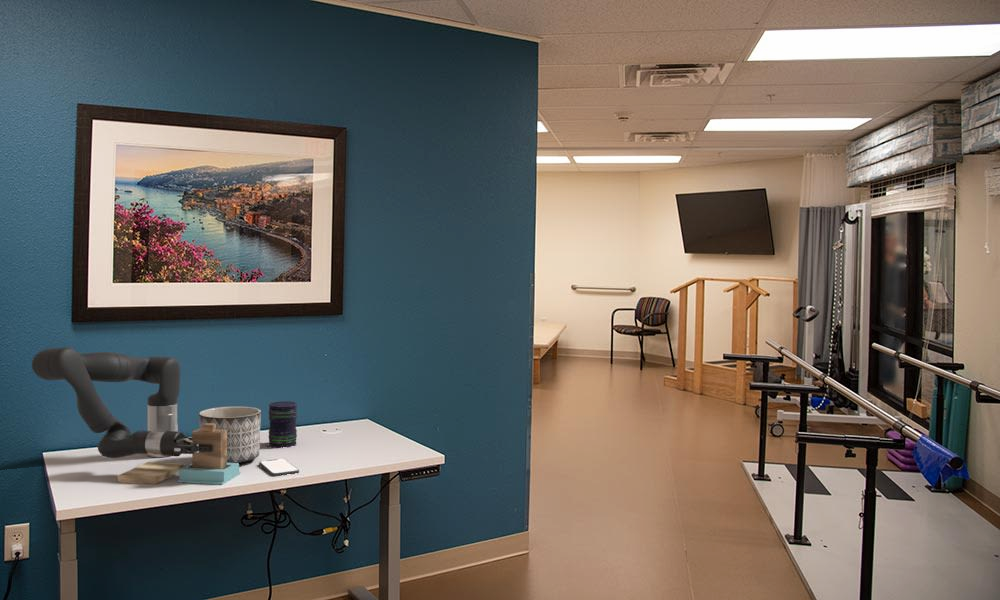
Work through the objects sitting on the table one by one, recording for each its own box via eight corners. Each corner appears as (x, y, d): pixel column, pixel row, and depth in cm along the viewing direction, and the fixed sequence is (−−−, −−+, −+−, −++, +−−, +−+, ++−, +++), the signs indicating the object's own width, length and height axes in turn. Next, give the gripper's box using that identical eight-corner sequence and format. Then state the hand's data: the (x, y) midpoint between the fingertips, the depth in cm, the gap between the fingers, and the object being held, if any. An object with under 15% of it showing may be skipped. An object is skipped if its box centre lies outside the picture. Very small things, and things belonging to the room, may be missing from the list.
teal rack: (197, 471, 241) (197, 460, 241) (240, 473, 240) (240, 462, 240) (177, 482, 229) (177, 470, 229) (222, 484, 228) (222, 472, 228)
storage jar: (280, 440, 285) (280, 400, 284) (302, 443, 281) (302, 402, 281) (262, 446, 276) (262, 404, 275) (285, 449, 272) (285, 407, 272)
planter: (187, 461, 253) (187, 412, 252) (238, 451, 268) (238, 404, 267) (220, 472, 241) (221, 420, 240) (272, 460, 256) (272, 411, 256)
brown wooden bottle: (198, 473, 237) (198, 422, 236) (226, 475, 236) (227, 423, 235) (192, 477, 233) (192, 424, 232) (220, 478, 232) (220, 426, 231)
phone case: (300, 475, 242) (284, 462, 255) (300, 470, 242) (284, 458, 255) (272, 479, 237) (257, 466, 251) (272, 474, 237) (257, 461, 250)
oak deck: (148, 468, 244) (148, 461, 244) (184, 469, 243) (184, 463, 243) (117, 482, 228) (117, 475, 228) (156, 484, 227) (156, 477, 227)
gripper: (152, 436, 228) (206, 439, 226) (177, 426, 242) (228, 428, 241) (152, 461, 229) (206, 464, 227) (177, 449, 243) (228, 452, 241)
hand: (217, 445), depth 234 cm, fingers open, 6 cm apart
